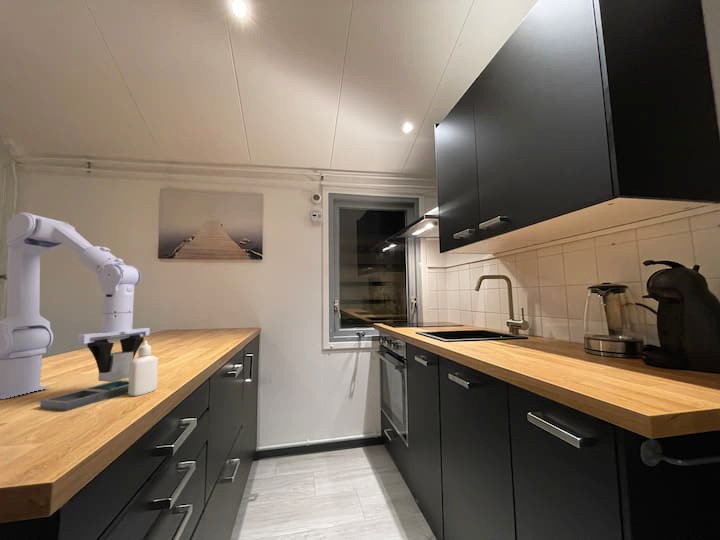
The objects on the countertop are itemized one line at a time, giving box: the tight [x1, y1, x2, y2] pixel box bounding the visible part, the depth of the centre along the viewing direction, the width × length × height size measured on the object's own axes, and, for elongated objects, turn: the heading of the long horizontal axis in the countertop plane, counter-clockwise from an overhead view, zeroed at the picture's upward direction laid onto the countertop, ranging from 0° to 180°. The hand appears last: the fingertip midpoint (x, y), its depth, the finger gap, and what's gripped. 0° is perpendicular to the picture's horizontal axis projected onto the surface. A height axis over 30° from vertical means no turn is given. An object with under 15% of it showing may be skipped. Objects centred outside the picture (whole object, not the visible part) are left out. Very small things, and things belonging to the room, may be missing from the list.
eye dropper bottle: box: [127, 340, 159, 397], centre depth 68 cm, size 4×6×12 cm
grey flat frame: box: [39, 379, 129, 412], centre depth 65 cm, size 8×15×2 cm, turn 163°
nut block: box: [97, 350, 134, 383], centre depth 69 cm, size 4×4×6 cm
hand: (115, 369), depth 69 cm, fingers closed on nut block, 4 cm apart
